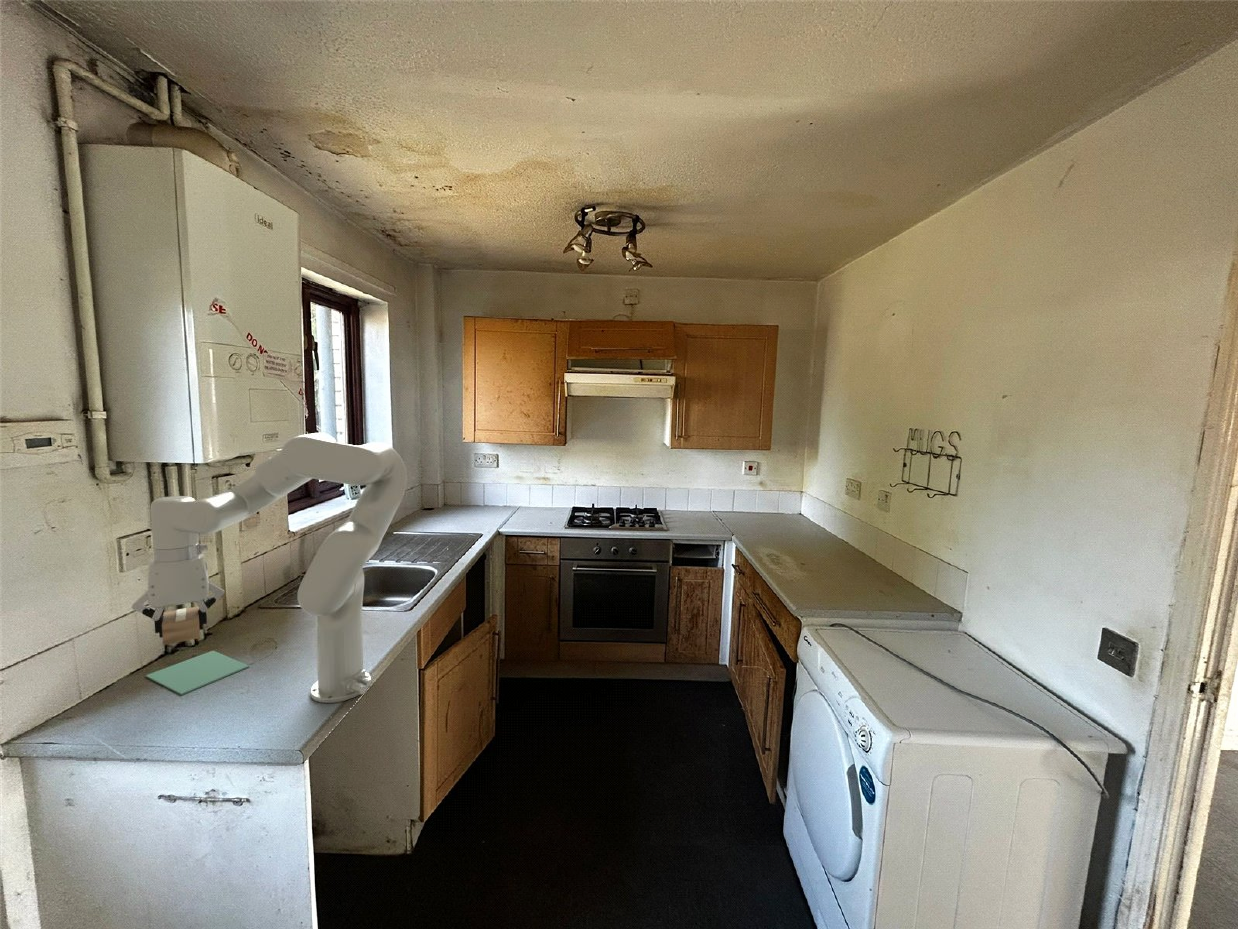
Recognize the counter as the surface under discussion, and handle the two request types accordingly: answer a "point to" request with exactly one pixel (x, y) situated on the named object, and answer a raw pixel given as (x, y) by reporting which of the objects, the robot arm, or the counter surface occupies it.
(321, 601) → the robot arm
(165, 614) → the cardboard box
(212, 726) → the counter surface
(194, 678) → the play mat
